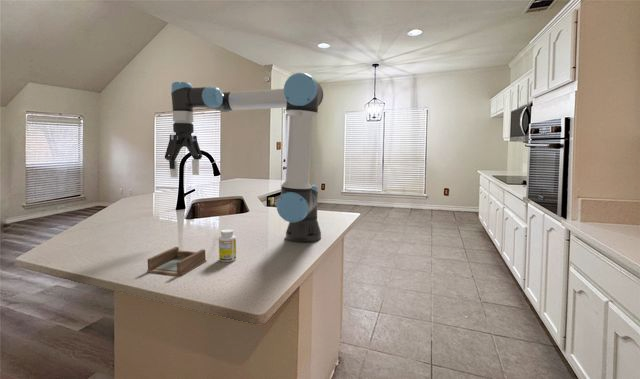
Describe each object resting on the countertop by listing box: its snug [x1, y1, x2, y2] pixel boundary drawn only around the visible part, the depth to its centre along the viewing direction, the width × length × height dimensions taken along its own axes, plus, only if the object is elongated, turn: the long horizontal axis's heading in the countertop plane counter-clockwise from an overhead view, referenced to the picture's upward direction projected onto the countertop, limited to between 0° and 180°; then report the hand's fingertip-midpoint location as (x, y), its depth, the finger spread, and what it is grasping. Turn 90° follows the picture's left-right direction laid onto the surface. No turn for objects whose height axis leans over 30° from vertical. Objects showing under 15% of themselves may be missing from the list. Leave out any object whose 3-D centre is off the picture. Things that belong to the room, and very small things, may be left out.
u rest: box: [146, 246, 207, 277], centre depth 105 cm, size 12×13×4 cm
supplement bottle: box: [218, 229, 237, 263], centre depth 112 cm, size 6×6×10 cm
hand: (185, 176), depth 133 cm, fingers open, 13 cm apart
